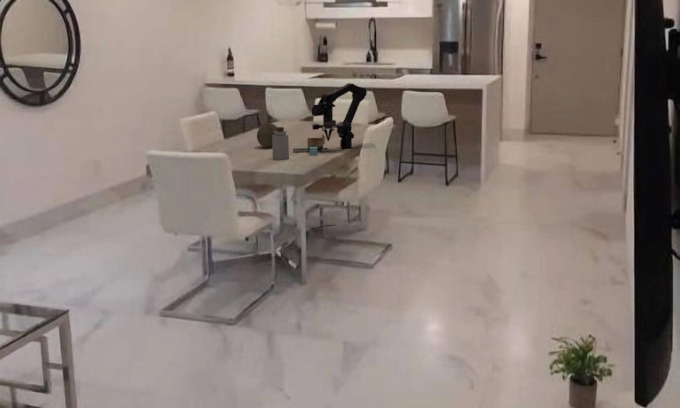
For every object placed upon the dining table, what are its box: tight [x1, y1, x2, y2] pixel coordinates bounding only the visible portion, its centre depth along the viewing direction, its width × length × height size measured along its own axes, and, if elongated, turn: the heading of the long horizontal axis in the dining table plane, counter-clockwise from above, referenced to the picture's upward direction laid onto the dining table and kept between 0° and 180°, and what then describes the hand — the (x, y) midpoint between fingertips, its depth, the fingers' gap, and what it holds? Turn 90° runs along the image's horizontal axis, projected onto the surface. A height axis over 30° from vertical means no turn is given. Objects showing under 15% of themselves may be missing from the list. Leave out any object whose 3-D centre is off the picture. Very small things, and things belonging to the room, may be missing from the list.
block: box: [308, 147, 318, 157], centre depth 442 cm, size 4×4×4 cm
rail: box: [292, 147, 329, 154], centre depth 454 cm, size 21×11×1 cm, turn 94°
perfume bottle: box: [271, 126, 290, 161], centre depth 430 cm, size 7×7×18 cm
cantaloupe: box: [256, 123, 278, 149], centre depth 467 cm, size 14×14×15 cm
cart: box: [306, 133, 326, 150], centre depth 454 cm, size 10×12×8 cm
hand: (328, 140), depth 454 cm, fingers closed
